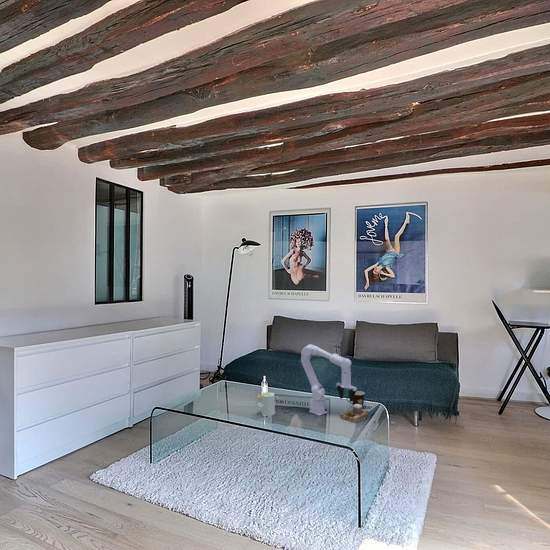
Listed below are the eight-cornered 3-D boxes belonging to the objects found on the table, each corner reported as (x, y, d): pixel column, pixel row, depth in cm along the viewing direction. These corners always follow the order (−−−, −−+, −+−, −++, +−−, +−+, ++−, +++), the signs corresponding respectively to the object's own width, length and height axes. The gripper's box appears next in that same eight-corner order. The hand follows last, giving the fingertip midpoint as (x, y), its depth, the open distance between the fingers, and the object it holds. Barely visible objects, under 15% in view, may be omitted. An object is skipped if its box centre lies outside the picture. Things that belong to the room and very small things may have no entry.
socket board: (340, 418, 259) (340, 414, 259) (354, 412, 268) (354, 408, 268) (354, 423, 251) (354, 418, 250) (368, 416, 260) (368, 412, 260)
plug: (353, 416, 261) (352, 405, 261) (356, 414, 264) (356, 403, 264) (358, 418, 258) (358, 406, 258) (362, 416, 261) (362, 405, 261)
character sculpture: (268, 407, 279) (267, 388, 279) (282, 411, 273) (282, 390, 272) (249, 417, 263) (249, 396, 262) (264, 421, 256) (264, 399, 256)
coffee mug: (365, 406, 279) (365, 391, 279) (364, 410, 271) (364, 395, 270) (347, 404, 282) (347, 390, 282) (346, 409, 274) (346, 394, 273)
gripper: (333, 377, 264) (333, 398, 264) (351, 382, 253) (351, 404, 254) (340, 375, 269) (340, 395, 269) (358, 379, 258) (358, 401, 258)
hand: (346, 399), depth 262 cm, fingers open, 7 cm apart
